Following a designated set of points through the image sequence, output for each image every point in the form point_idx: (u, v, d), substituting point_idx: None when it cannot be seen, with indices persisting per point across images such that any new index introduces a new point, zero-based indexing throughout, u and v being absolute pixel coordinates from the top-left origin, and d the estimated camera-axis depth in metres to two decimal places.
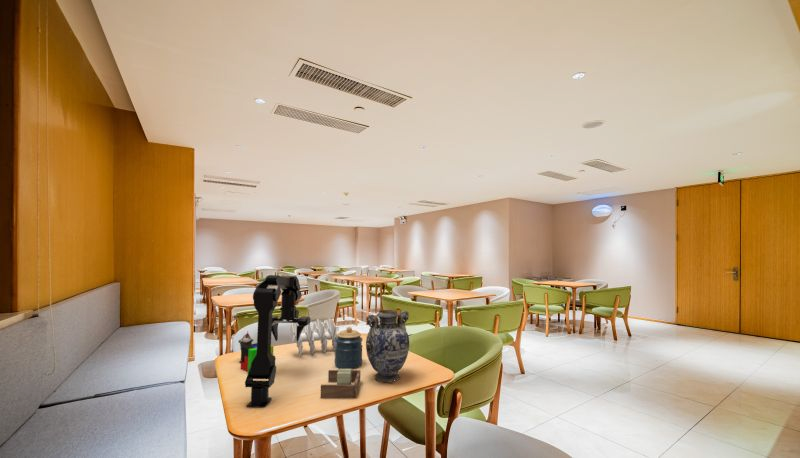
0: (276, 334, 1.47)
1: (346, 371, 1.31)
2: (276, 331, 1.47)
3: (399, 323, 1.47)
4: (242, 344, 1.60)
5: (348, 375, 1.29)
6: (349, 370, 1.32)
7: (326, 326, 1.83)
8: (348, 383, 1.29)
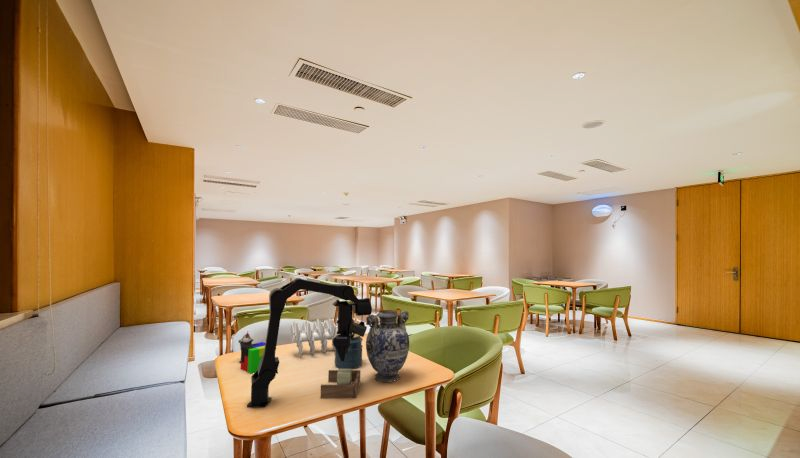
0: None
1: (346, 371, 1.31)
2: None
3: (399, 323, 1.47)
4: (242, 344, 1.60)
5: (348, 375, 1.29)
6: (349, 370, 1.32)
7: (326, 326, 1.83)
8: (348, 383, 1.29)
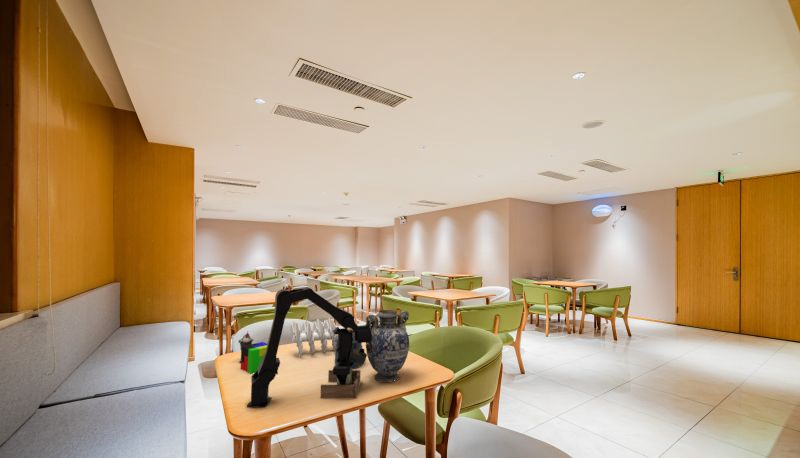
0: None
1: None
2: None
3: (399, 323, 1.47)
4: (242, 344, 1.60)
5: (348, 375, 1.29)
6: None
7: (326, 326, 1.83)
8: (348, 383, 1.29)
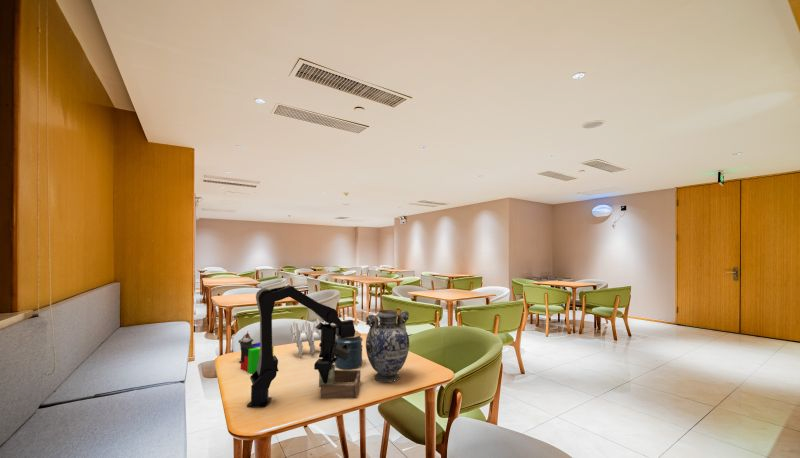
0: None
1: None
2: None
3: (399, 323, 1.47)
4: (242, 344, 1.60)
5: (330, 370, 1.29)
6: None
7: None
8: (330, 378, 1.28)
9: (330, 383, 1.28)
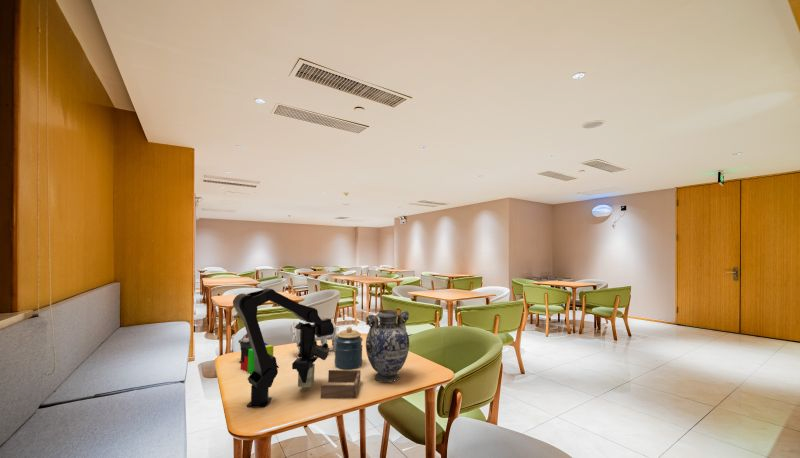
0: None
1: None
2: None
3: (399, 323, 1.47)
4: (242, 344, 1.60)
5: (309, 370, 1.29)
6: None
7: None
8: (309, 378, 1.28)
9: (309, 382, 1.28)
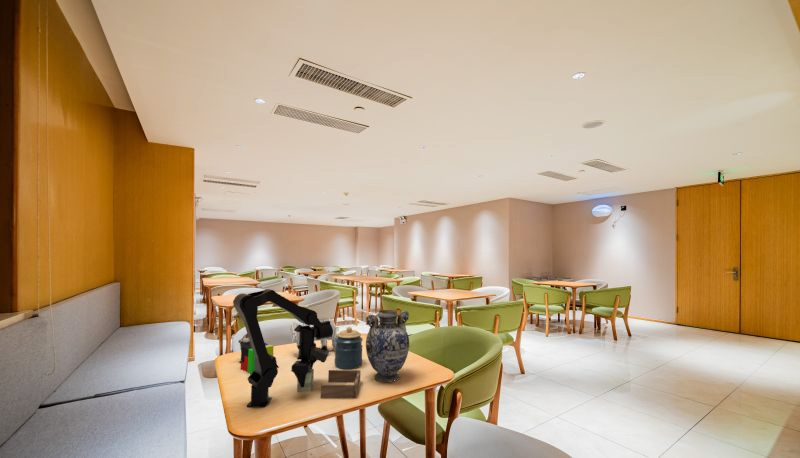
0: None
1: None
2: None
3: (399, 323, 1.47)
4: (242, 344, 1.60)
5: (309, 375, 1.28)
6: (310, 370, 1.32)
7: None
8: (308, 383, 1.28)
9: (308, 388, 1.28)
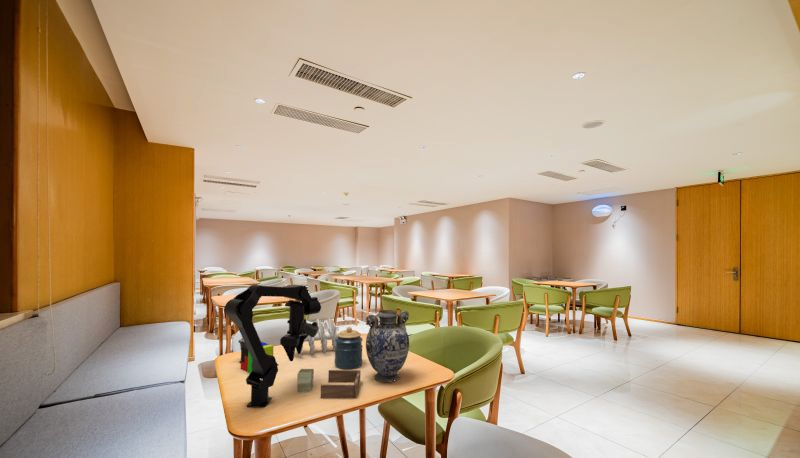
0: (298, 347, 1.37)
1: (307, 371, 1.31)
2: (299, 343, 1.37)
3: (399, 323, 1.47)
4: (242, 344, 1.60)
5: (308, 375, 1.28)
6: (310, 370, 1.32)
7: (326, 326, 1.83)
8: (308, 383, 1.28)
9: (308, 388, 1.28)
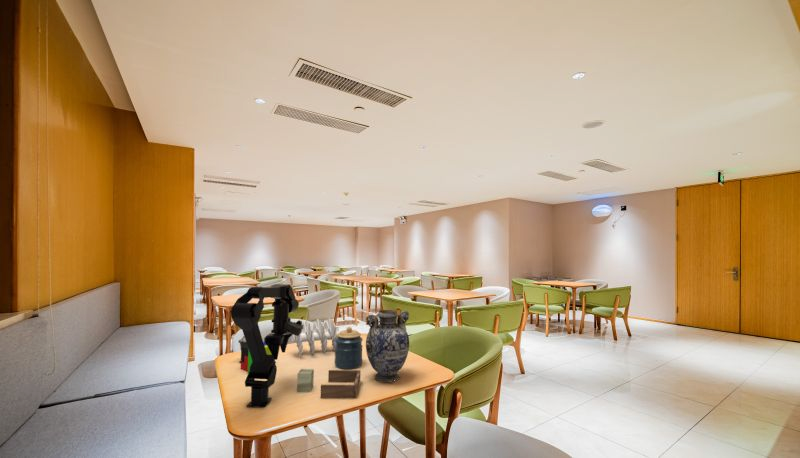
0: (282, 345, 1.38)
1: (307, 371, 1.31)
2: (283, 342, 1.38)
3: (399, 323, 1.47)
4: (242, 344, 1.60)
5: (308, 375, 1.28)
6: (310, 370, 1.32)
7: (326, 326, 1.83)
8: (308, 383, 1.28)
9: (308, 388, 1.28)
